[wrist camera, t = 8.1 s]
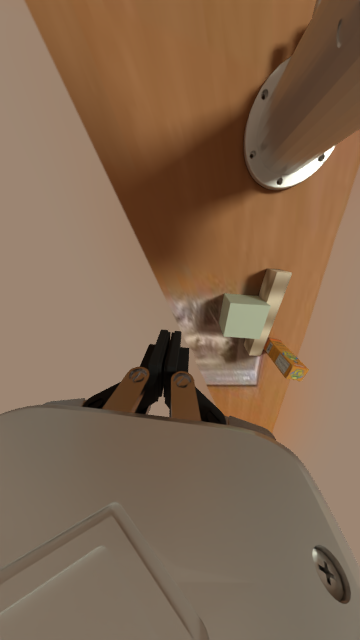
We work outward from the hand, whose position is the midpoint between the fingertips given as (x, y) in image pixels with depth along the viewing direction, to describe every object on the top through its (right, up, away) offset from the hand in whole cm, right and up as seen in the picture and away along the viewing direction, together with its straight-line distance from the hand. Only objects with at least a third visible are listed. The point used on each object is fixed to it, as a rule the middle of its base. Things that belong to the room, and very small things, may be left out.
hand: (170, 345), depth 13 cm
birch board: (+18, +4, +21) cm, 28 cm away
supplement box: (+23, -4, +24) cm, 34 cm away
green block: (+13, +4, +21) cm, 25 cm away
